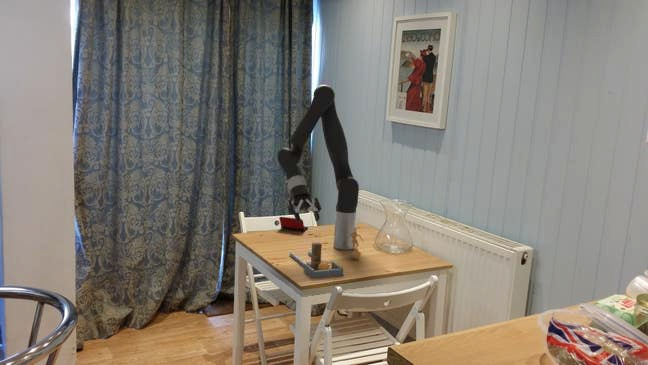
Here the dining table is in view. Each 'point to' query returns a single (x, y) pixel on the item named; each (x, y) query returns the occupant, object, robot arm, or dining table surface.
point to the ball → (323, 266)
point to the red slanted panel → (292, 224)
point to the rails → (300, 259)
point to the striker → (316, 256)
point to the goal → (324, 271)
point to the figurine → (355, 254)
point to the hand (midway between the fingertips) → (308, 221)
